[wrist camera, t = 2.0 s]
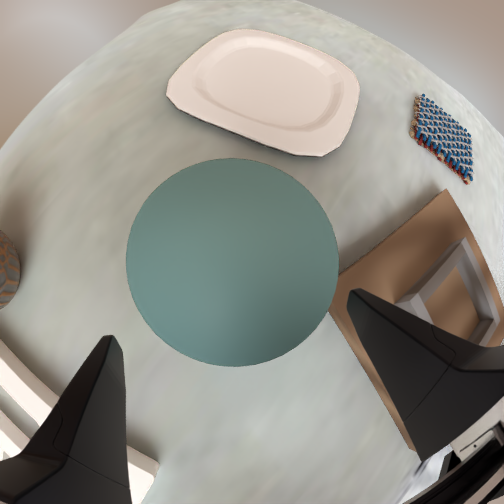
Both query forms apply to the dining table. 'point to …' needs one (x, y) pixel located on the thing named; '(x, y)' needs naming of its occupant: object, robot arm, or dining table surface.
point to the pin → (232, 262)
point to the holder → (38, 407)
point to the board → (426, 284)
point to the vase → (8, 270)
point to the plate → (268, 91)
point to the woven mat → (443, 137)
